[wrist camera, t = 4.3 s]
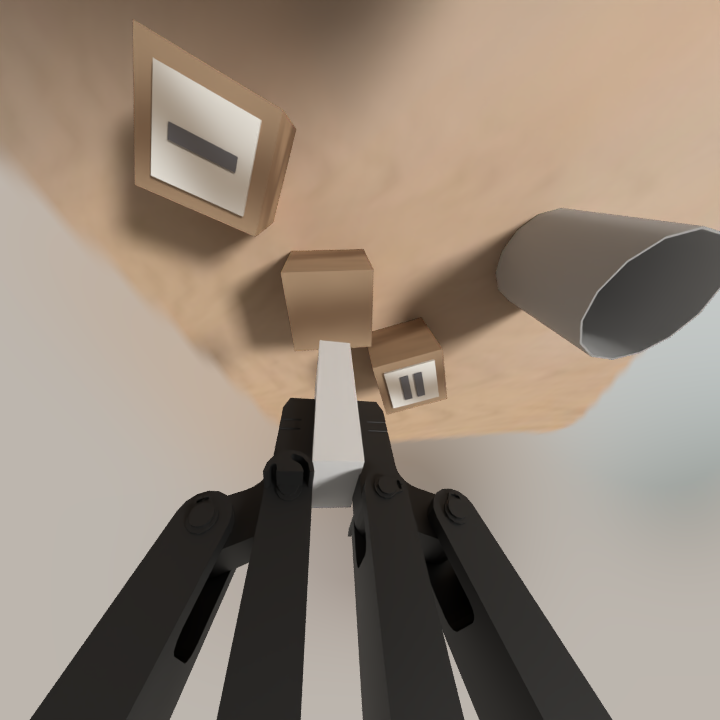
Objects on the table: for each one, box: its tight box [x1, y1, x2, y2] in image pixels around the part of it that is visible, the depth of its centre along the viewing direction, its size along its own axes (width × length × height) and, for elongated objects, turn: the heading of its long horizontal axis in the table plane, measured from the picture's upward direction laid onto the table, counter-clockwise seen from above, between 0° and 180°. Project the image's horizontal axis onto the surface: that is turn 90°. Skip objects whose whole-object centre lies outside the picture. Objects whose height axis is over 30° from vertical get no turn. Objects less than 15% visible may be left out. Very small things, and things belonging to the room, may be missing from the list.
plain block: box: [281, 249, 374, 351], centre depth 21 cm, size 6×6×6 cm
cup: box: [496, 208, 720, 360], centre depth 20 cm, size 8×8×10 cm
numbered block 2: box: [368, 318, 447, 414], centre depth 25 cm, size 6×6×6 cm
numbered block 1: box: [133, 19, 296, 237], centre depth 15 cm, size 6×6×6 cm
